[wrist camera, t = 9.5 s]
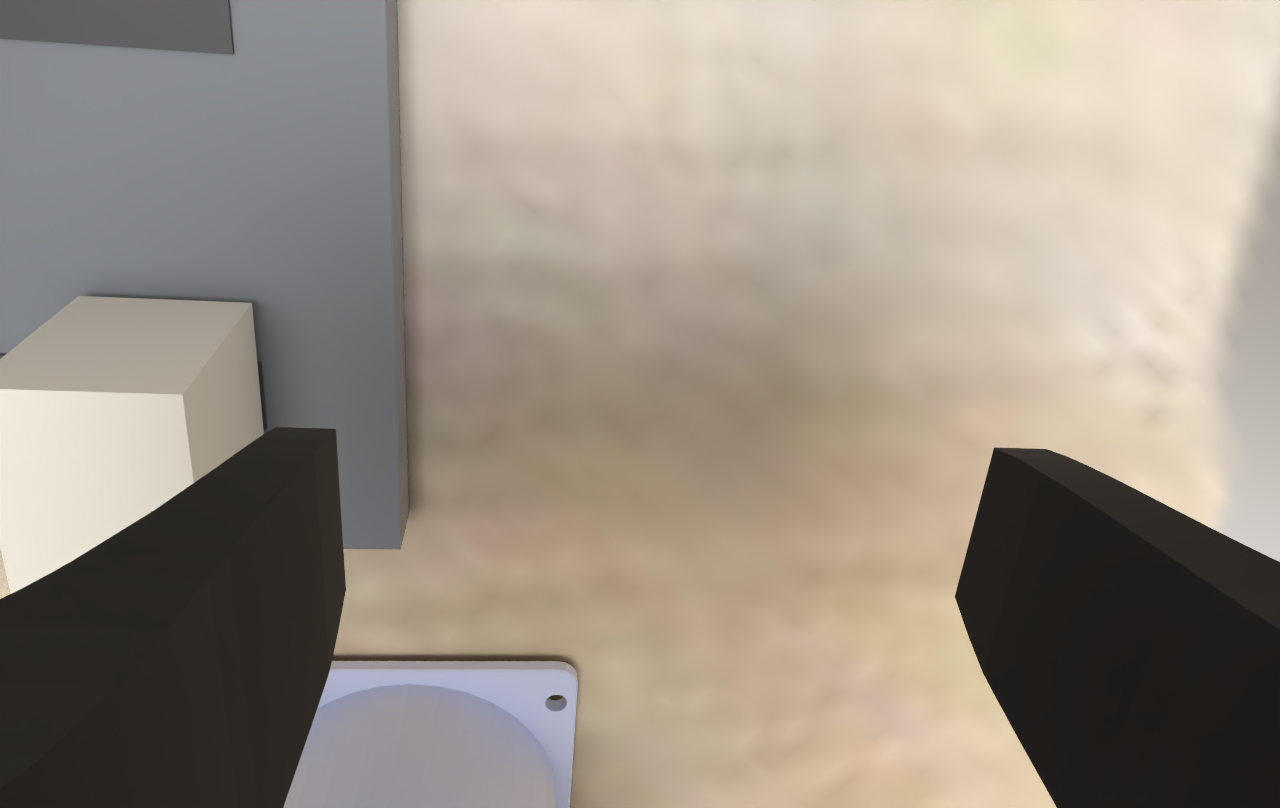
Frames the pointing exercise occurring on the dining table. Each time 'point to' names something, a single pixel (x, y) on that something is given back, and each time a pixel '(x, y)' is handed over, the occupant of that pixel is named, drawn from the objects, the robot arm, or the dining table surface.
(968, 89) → the dining table surface
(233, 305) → the ivory slider
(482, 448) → the dining table surface
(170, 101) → the control board
